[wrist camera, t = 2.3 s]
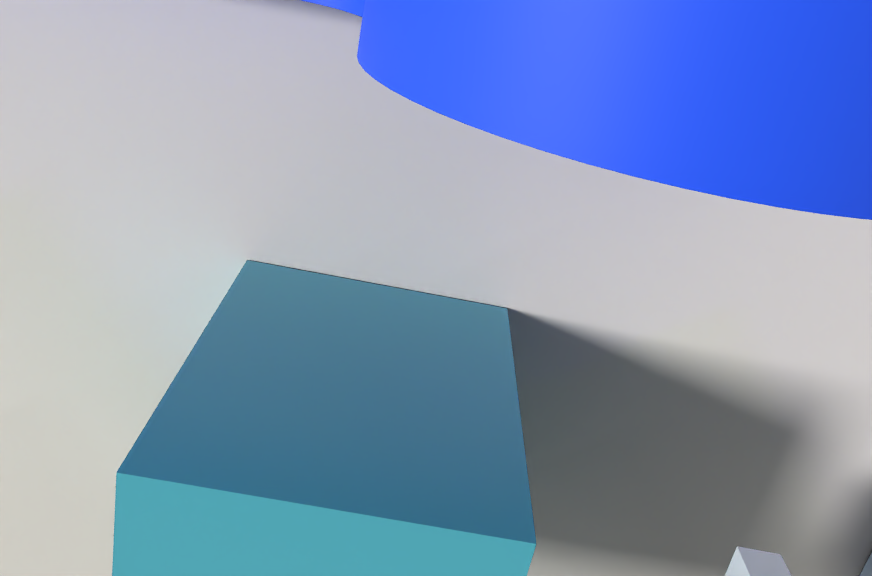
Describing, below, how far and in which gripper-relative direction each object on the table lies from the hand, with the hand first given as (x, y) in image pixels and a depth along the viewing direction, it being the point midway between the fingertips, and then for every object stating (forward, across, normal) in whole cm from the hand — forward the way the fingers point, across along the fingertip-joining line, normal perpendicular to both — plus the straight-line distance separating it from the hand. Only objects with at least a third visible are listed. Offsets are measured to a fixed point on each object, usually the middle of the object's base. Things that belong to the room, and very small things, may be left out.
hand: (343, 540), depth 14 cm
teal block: (+4, 0, 0) cm, 4 cm away
